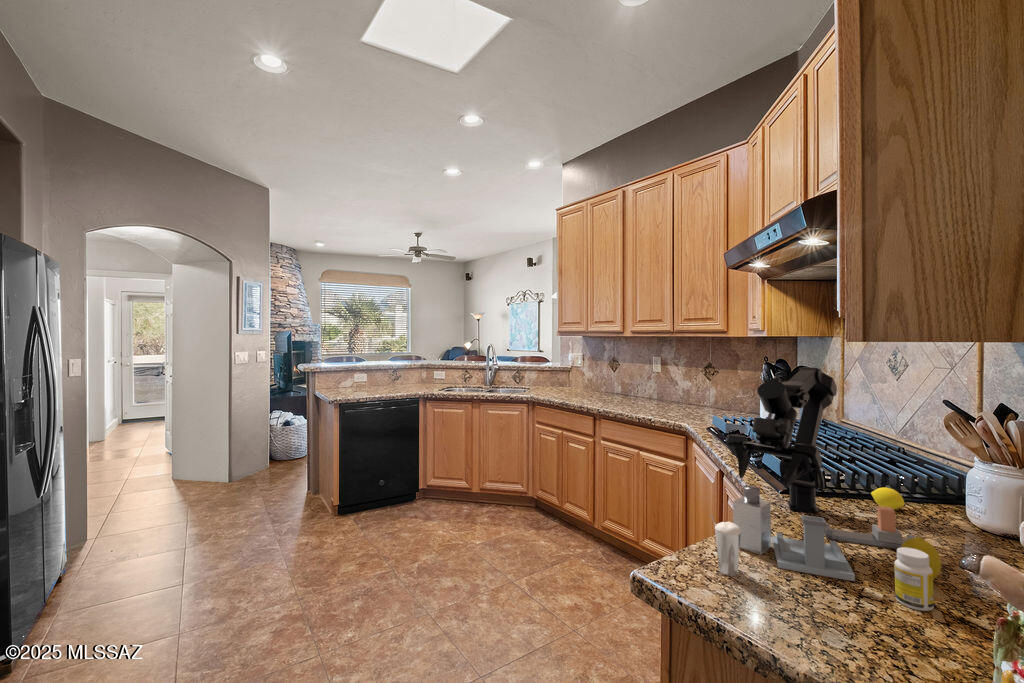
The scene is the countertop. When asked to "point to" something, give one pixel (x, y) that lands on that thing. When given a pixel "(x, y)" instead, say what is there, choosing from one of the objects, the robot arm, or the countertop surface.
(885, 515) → the lever
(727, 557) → the milkshake
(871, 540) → the rail
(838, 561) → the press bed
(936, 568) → the lemon
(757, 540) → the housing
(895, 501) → the lemon
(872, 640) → the countertop surface
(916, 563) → the supplement bottle
